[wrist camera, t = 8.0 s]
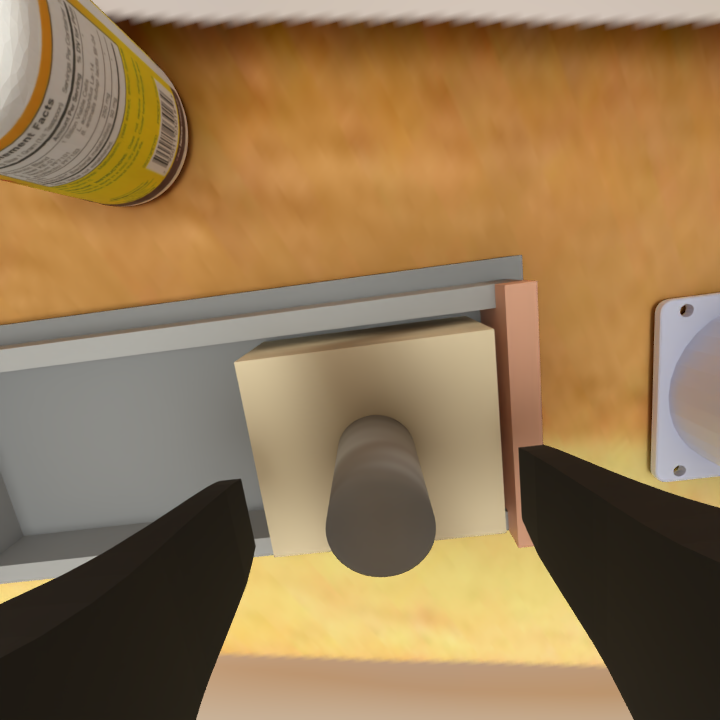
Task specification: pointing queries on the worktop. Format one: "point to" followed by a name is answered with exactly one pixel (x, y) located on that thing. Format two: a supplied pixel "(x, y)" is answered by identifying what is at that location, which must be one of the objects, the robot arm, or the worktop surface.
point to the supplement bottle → (84, 106)
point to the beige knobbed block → (376, 440)
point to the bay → (207, 401)
